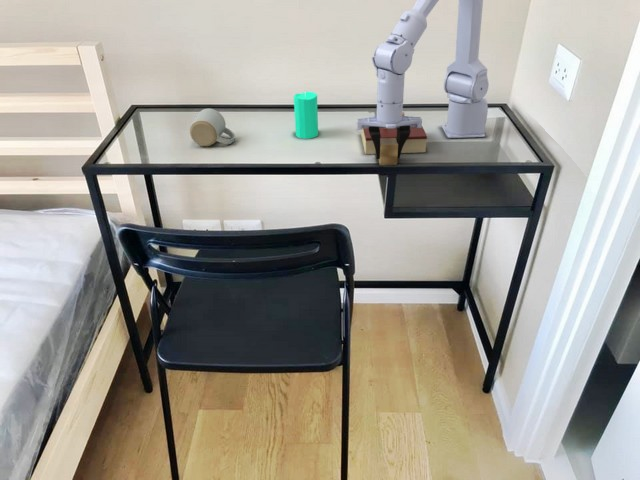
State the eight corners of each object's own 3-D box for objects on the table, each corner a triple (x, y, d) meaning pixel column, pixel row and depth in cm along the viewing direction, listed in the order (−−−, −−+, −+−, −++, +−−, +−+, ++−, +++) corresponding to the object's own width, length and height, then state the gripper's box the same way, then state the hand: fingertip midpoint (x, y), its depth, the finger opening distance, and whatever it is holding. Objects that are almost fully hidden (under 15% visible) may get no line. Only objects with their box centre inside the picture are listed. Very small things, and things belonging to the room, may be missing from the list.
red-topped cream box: (425, 152, 129) (426, 138, 127) (365, 154, 129) (365, 140, 127) (417, 133, 139) (418, 120, 137) (361, 135, 139) (361, 122, 137)
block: (394, 157, 127) (395, 137, 124) (397, 164, 123) (398, 144, 121) (378, 158, 127) (378, 138, 124) (379, 165, 123) (380, 145, 121)
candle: (319, 130, 143) (318, 85, 136) (317, 138, 138) (315, 93, 131) (297, 130, 143) (294, 85, 137) (294, 138, 138) (291, 92, 132)
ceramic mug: (190, 147, 135) (185, 118, 131) (199, 135, 142) (195, 107, 137) (231, 149, 134) (228, 119, 130) (238, 136, 141) (235, 108, 137)
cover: (427, 139, 126) (428, 120, 124) (365, 140, 126) (366, 121, 124) (418, 120, 137) (419, 102, 134) (361, 122, 137) (361, 104, 134)
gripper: (358, 106, 114) (357, 165, 121) (426, 104, 114) (421, 163, 121) (356, 96, 120) (355, 152, 127) (420, 94, 120) (416, 151, 127)
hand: (387, 157), depth 124 cm, fingers closed on block, 4 cm apart
